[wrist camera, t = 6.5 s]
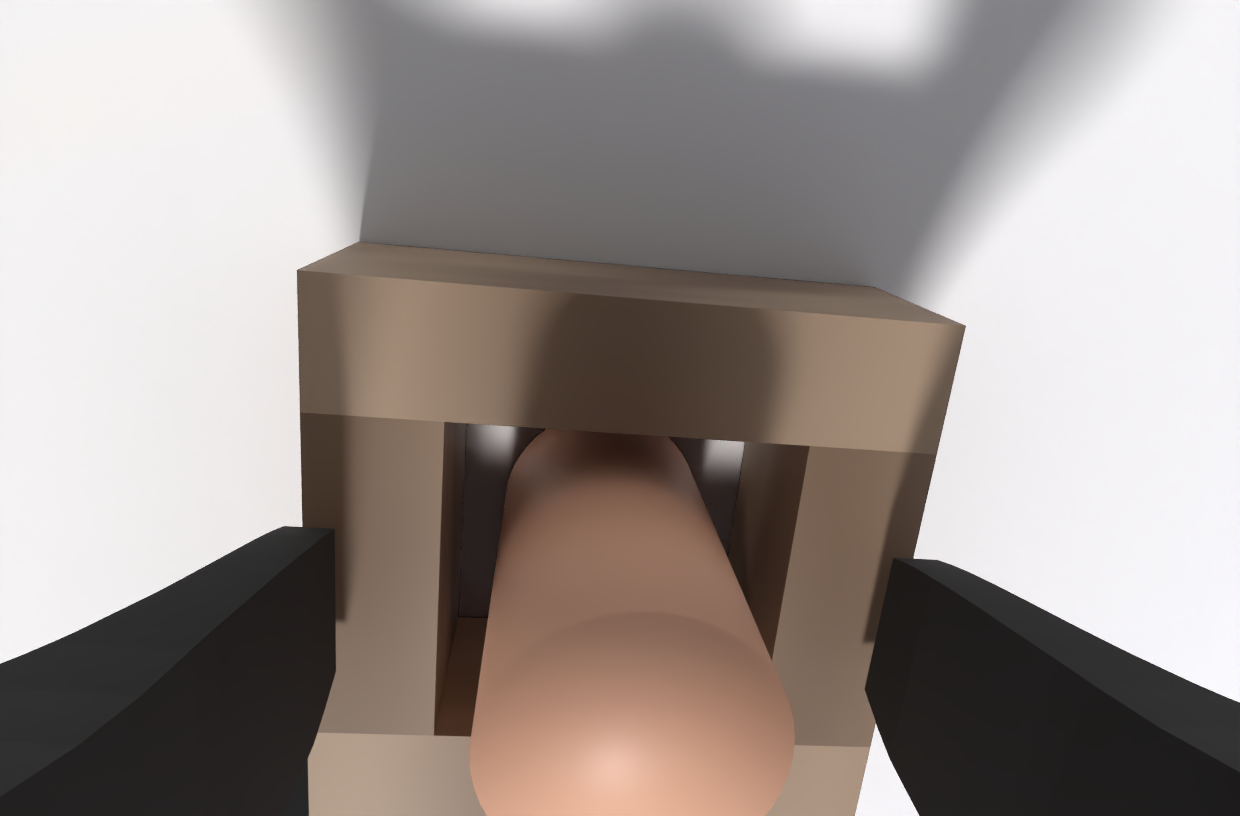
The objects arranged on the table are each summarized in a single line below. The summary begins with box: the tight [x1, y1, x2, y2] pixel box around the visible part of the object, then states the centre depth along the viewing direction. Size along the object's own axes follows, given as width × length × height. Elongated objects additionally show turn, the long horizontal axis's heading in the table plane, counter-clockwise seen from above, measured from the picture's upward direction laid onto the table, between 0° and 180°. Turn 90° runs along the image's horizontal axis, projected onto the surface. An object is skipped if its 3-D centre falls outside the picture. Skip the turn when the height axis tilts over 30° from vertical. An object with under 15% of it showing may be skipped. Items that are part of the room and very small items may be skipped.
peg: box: [469, 429, 795, 816], centre depth 11 cm, size 3×3×6 cm
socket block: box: [297, 242, 966, 816], centre depth 12 cm, size 8×8×3 cm
